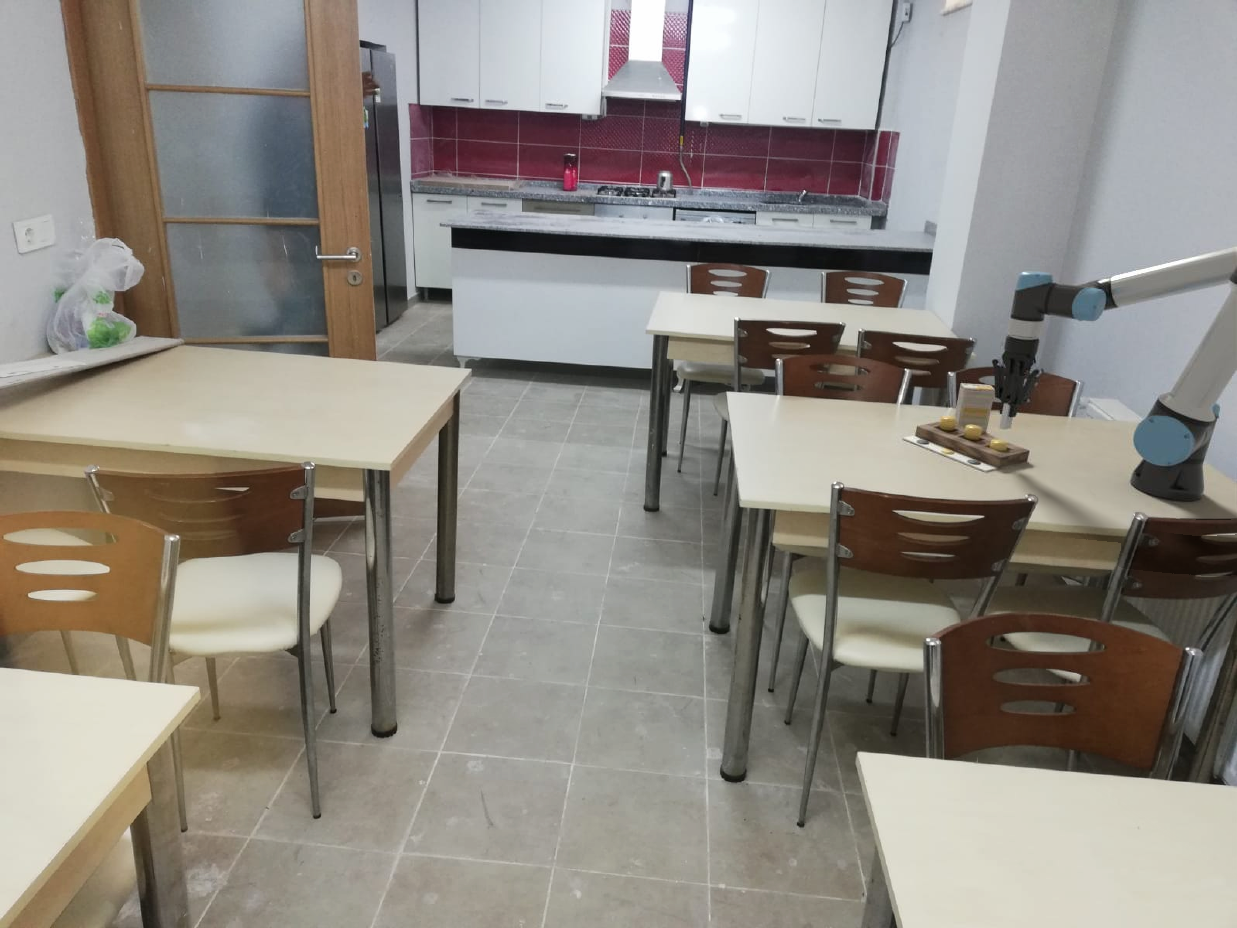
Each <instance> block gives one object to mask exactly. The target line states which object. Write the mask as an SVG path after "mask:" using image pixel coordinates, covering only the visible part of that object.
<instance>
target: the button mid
mask: <svg viewBox="0 0 1237 928" xmlns="http://www.w3.org/2000/svg"><path fill="white" fill-rule="evenodd" d="M981 431H982V428H981V427H980V426H976V425H966V428H965V433H964V437H965V438H968V439H972V440H979V439H980V436H981Z"/></svg>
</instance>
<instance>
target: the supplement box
mask: <svg viewBox="0 0 1237 928" xmlns="http://www.w3.org/2000/svg"><path fill="white" fill-rule="evenodd" d="M994 398H995V387H993V386H992V384H991V385H990V384H981V383H980V384H979V383H963V382H960V386H959V391H958V397H957V402H956V407H955V412H954V416H953V417H954V418H956V419H957V420H956V424H957V425H960V426H963V427H965V428H966V425H976V426H980V427H981V428H982V431H981V433H982V434H985V435H987V432H988V431H987V430H988V428H989V427H988V426H989V423H990V417H991V410H992V406H993V401H994Z"/></svg>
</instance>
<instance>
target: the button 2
mask: <svg viewBox="0 0 1237 928" xmlns="http://www.w3.org/2000/svg"><path fill="white" fill-rule="evenodd" d="M997 439H998V438H996V439H994V440H991V444H990V448H991V449H993V450H996V451H999V452H1004V451H1006V450H1007V445H1008V443H1009V442H1008V441H1005V440H1002V439H999V440H997Z"/></svg>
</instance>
